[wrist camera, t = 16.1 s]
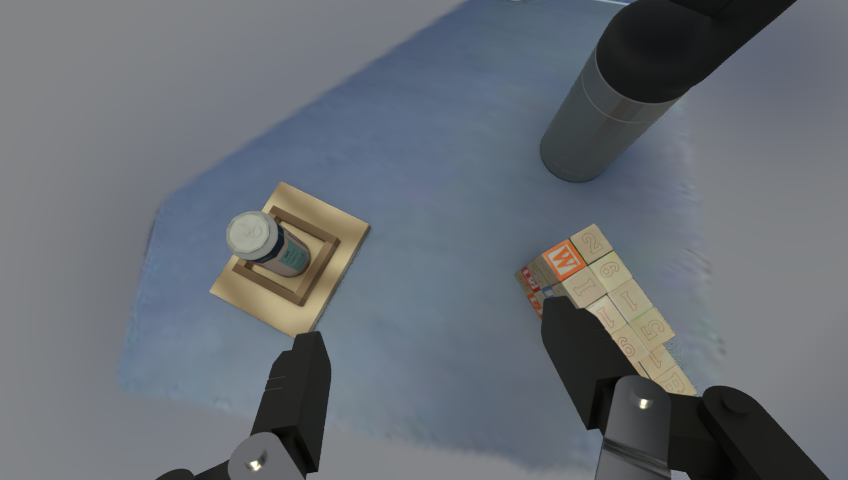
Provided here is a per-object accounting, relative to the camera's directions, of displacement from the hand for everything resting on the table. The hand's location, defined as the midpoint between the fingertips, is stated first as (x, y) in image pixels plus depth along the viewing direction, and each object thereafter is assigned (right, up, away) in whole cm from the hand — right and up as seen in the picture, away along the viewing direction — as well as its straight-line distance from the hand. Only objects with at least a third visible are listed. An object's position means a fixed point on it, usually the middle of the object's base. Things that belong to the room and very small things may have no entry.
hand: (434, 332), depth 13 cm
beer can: (-17, +1, +33) cm, 37 cm away
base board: (-17, +1, +34) cm, 38 cm away
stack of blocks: (+19, -9, +32) cm, 38 cm away
